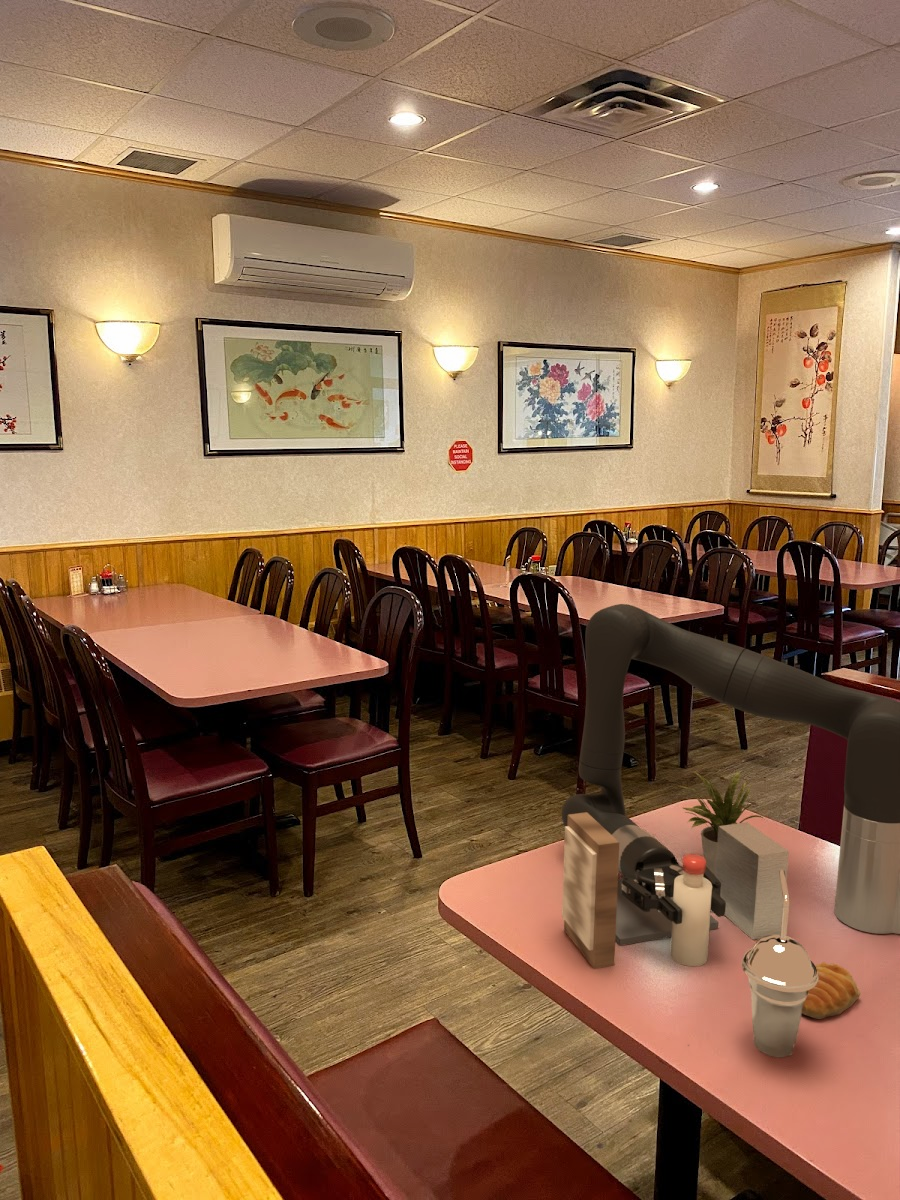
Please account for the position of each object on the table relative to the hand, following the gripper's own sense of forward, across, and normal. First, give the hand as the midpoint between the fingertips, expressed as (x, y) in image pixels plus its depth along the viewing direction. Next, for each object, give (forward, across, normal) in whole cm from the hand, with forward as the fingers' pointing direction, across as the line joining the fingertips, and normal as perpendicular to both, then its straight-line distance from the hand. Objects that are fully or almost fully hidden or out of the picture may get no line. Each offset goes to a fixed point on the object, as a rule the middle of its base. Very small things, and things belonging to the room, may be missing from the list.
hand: (701, 913), depth 123 cm
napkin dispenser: (-8, +14, +8) cm, 18 cm away
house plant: (-24, +19, +8) cm, 32 cm away
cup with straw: (+17, 0, +8) cm, 18 cm away
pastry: (+11, +11, +8) cm, 18 cm away
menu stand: (-8, -12, +8) cm, 17 cm away
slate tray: (-15, 0, +8) cm, 17 cm away
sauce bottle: (-2, 0, +8) cm, 8 cm away
